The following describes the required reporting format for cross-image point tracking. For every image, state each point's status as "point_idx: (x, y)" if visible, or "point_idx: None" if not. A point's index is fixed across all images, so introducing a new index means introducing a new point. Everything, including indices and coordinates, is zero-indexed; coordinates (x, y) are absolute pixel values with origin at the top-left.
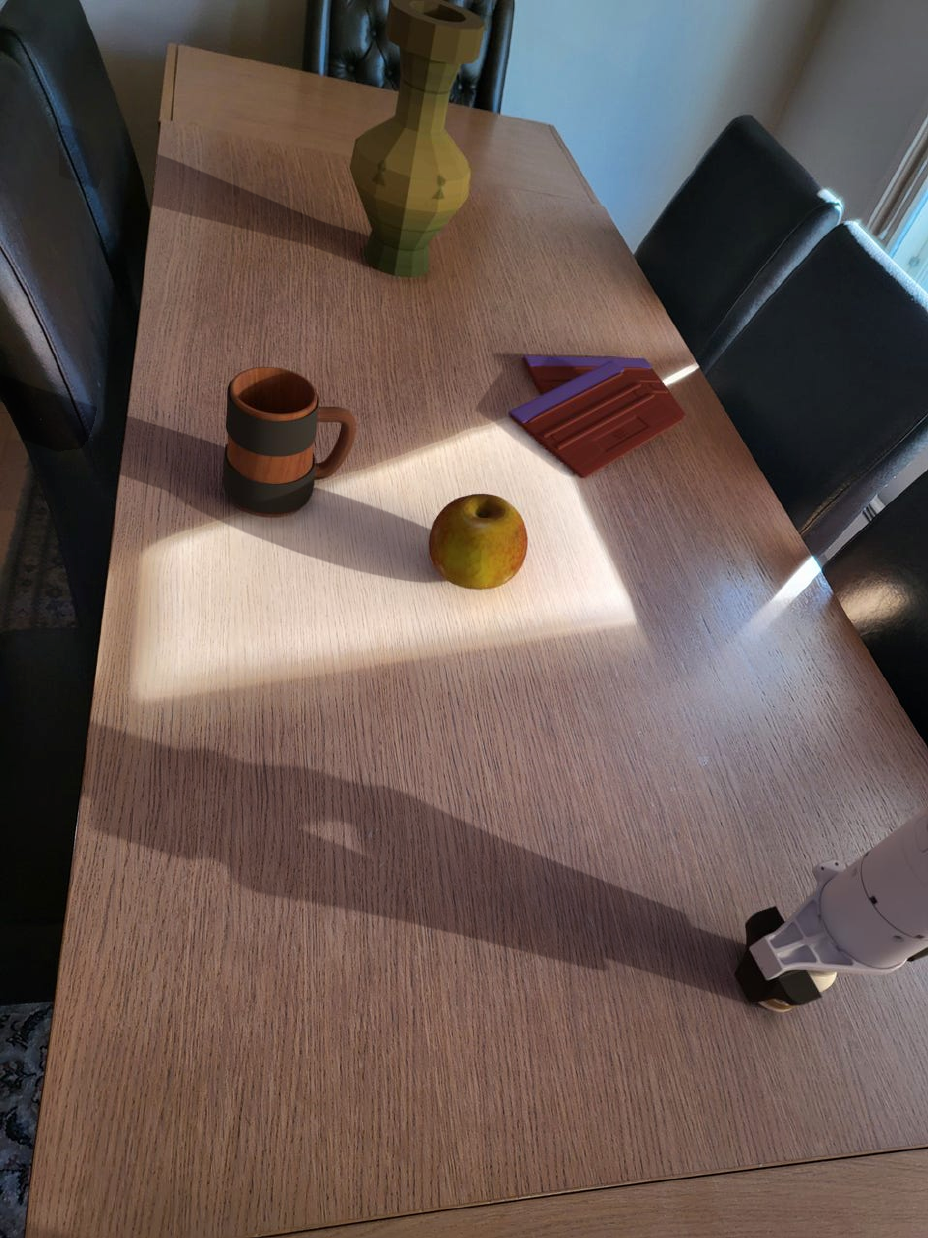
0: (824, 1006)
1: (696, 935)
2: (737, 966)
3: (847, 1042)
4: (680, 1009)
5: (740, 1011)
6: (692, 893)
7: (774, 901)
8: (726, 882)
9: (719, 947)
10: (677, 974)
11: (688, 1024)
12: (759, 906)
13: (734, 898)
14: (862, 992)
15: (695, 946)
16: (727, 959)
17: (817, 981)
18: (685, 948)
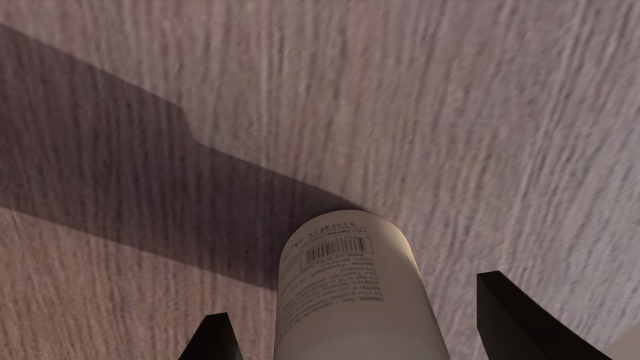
0: (442, 306)
1: (199, 161)
2: (193, 335)
3: (449, 353)
4: (122, 288)
5: (255, 300)
6: (220, 55)
7: (463, 99)
8: (342, 32)
9: (252, 191)
10: (128, 232)
11: (134, 310)
12: (410, 108)
13: (346, 80)
14: (543, 292)
15: (189, 184)
16: (263, 215)
17: None
18: (161, 186)
